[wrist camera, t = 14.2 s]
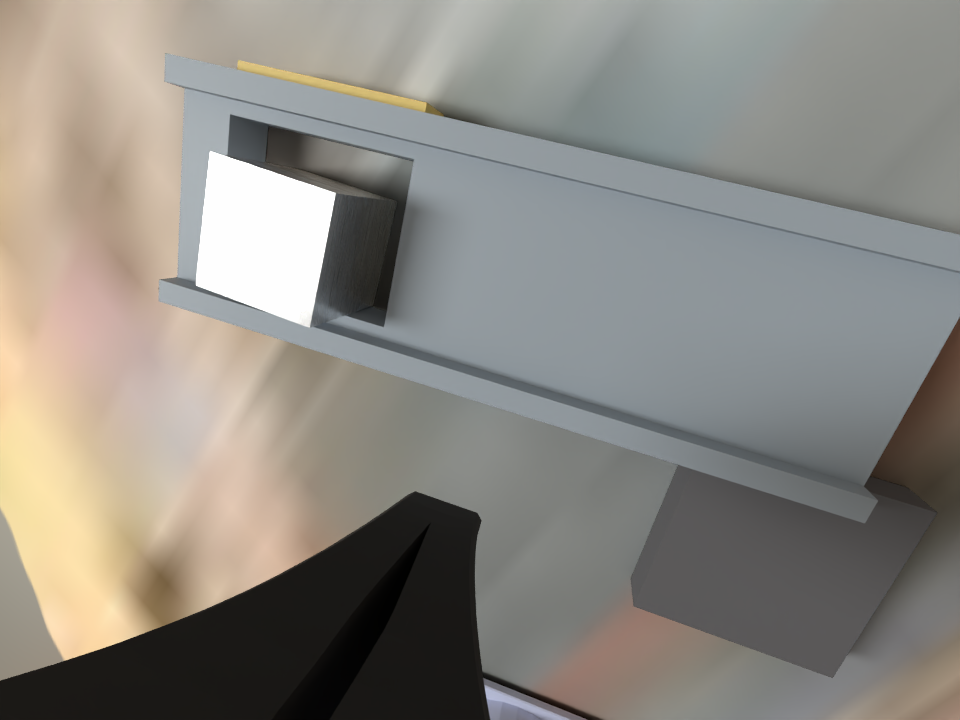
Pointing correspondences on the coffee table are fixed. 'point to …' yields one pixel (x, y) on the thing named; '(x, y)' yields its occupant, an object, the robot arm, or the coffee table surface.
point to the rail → (607, 289)
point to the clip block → (291, 240)
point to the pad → (774, 566)
